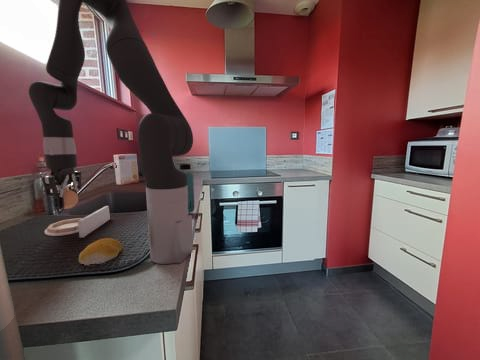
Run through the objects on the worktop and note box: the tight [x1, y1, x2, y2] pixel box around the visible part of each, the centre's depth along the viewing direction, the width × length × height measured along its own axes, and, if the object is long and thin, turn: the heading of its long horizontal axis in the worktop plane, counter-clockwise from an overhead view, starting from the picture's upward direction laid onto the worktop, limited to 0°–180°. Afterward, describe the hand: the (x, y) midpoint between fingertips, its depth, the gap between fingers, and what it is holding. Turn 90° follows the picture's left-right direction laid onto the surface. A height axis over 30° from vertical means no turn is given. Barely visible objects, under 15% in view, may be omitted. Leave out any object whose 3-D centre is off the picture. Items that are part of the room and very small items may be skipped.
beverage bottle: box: [179, 163, 195, 214], centre depth 82 cm, size 6×7×20 cm
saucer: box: [44, 217, 84, 237], centre depth 69 cm, size 12×12×2 cm
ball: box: [58, 189, 79, 210], centre depth 68 cm, size 6×6×6 cm
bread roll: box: [78, 237, 123, 266], centre depth 52 cm, size 8×9×4 cm
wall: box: [78, 205, 111, 238], centre depth 70 cm, size 16×1×5 cm, turn 7°
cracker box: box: [113, 153, 140, 186], centre depth 151 cm, size 14×6×21 cm, turn 152°
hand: (67, 205), depth 68 cm, fingers closed on ball, 6 cm apart
